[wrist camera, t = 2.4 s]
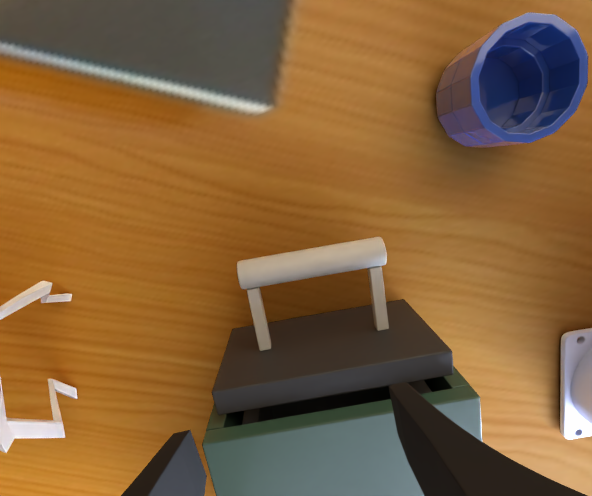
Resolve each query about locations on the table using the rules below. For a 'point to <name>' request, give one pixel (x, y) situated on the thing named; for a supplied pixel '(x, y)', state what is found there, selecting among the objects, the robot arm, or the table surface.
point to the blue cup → (514, 83)
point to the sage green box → (328, 448)
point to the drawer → (324, 342)
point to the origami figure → (7, 429)
